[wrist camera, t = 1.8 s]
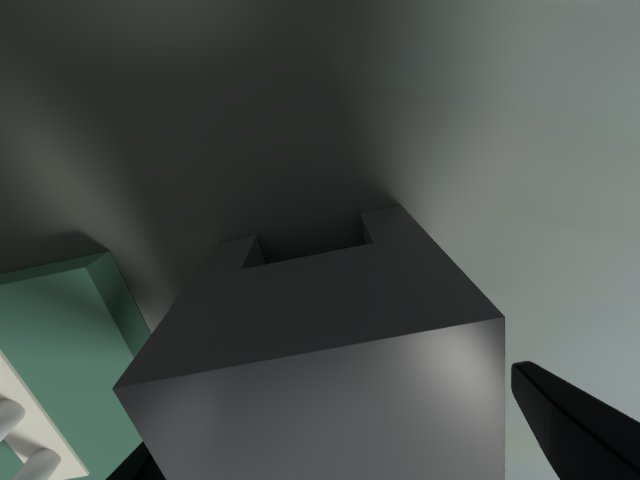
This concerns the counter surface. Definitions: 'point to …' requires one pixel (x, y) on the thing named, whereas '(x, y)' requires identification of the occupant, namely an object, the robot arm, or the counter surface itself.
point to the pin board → (66, 369)
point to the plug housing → (325, 366)
